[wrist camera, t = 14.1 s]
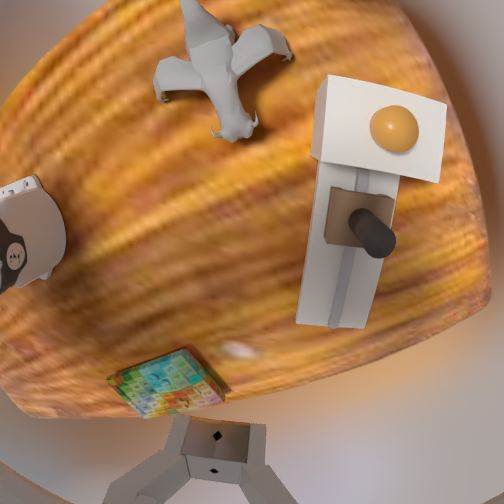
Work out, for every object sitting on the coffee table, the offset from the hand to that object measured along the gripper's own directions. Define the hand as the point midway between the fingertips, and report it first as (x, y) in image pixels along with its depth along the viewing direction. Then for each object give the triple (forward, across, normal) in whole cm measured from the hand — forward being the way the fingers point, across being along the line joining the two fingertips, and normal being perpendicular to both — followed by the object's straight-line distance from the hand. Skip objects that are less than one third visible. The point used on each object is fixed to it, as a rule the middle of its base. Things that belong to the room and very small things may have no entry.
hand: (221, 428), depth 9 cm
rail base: (+30, -12, -1) cm, 32 cm away
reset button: (+20, -11, -12) cm, 26 cm away
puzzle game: (+32, +15, +32) cm, 47 cm away
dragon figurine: (+31, +6, -18) cm, 36 cm away
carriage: (+28, -11, -1) cm, 30 cm away
